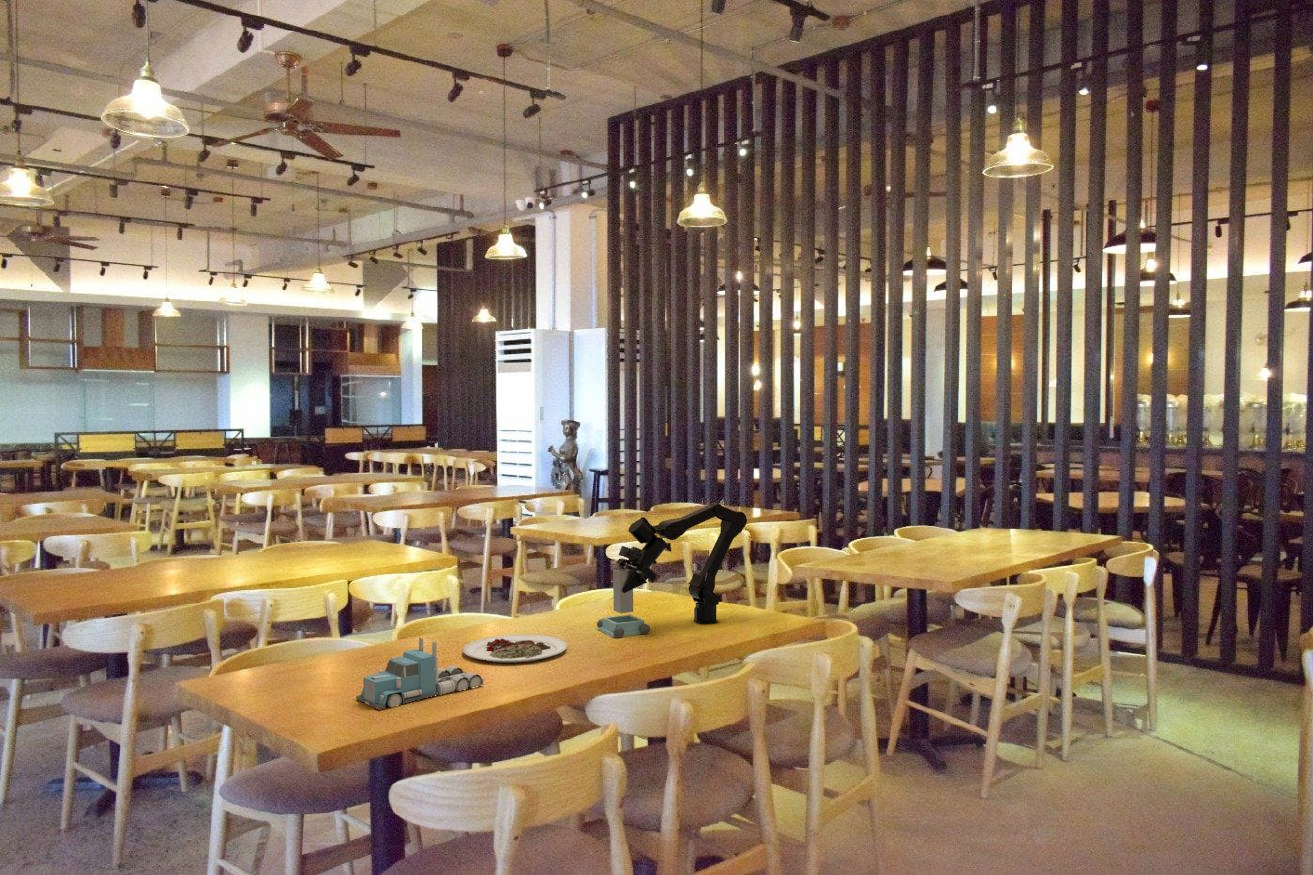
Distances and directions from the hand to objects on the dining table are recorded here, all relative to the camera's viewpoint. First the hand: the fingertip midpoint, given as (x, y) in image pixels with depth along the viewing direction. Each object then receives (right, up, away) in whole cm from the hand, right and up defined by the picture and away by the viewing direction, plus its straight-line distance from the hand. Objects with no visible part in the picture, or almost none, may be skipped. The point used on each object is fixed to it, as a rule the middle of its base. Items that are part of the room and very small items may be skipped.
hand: (619, 590), depth 302 cm
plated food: (-29, -15, -24) cm, 40 cm away
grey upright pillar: (+1, -7, +1) cm, 7 cm away
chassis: (+1, -13, +1) cm, 13 cm away
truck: (-47, -16, -64) cm, 81 cm away
